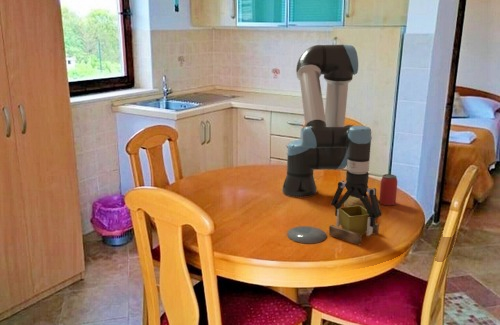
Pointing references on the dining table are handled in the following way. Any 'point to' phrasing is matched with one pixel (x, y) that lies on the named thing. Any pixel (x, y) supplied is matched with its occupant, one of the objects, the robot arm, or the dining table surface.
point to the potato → (353, 202)
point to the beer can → (388, 190)
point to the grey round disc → (306, 235)
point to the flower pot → (354, 219)
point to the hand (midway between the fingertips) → (354, 229)
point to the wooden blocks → (349, 234)
